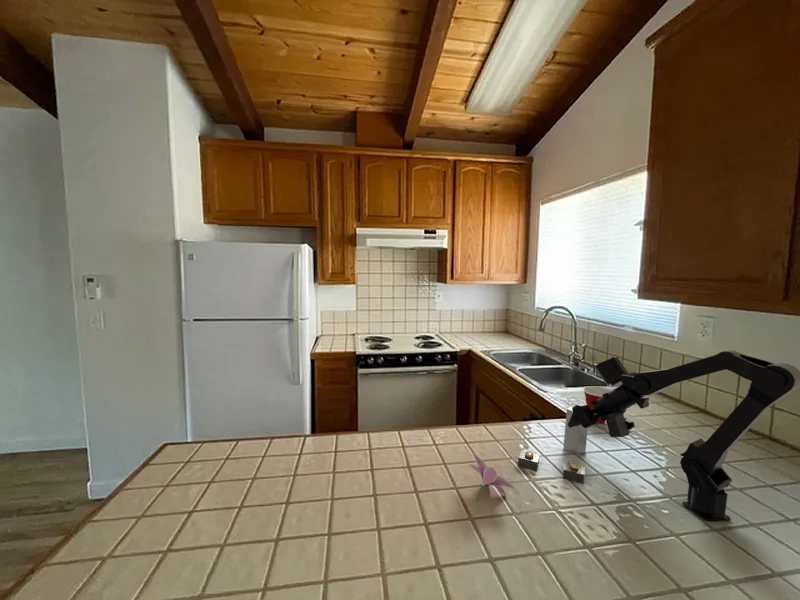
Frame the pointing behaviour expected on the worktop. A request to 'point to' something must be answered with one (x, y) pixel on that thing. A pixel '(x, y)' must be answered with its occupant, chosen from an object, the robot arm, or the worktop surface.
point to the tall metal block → (574, 437)
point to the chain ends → (569, 471)
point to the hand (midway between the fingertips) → (577, 423)
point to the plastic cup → (594, 395)
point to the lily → (490, 476)
